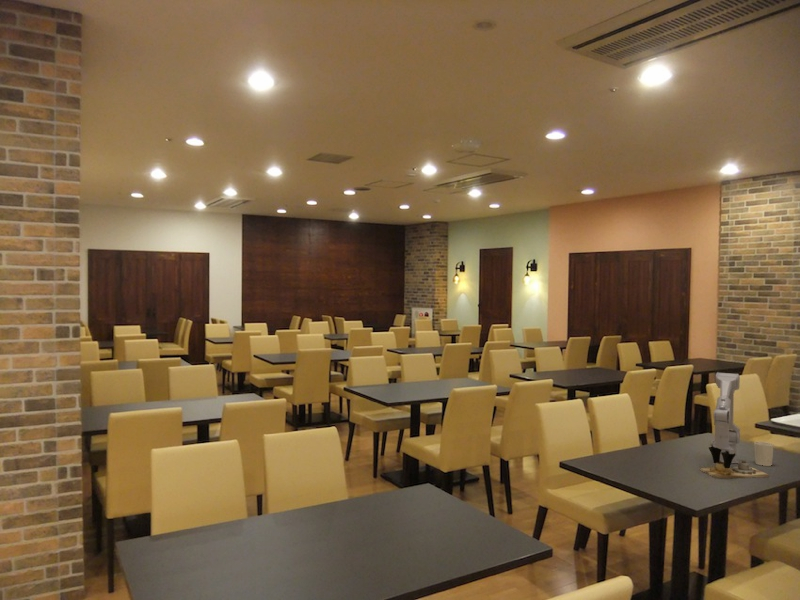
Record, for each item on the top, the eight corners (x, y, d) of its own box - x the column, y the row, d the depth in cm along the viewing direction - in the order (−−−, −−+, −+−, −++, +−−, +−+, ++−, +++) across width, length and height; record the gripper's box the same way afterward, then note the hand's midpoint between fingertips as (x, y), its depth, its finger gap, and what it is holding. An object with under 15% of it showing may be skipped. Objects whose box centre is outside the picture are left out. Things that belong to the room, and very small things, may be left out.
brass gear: (725, 468, 270) (725, 459, 270) (738, 474, 260) (738, 466, 260) (705, 468, 269) (705, 460, 269) (718, 475, 259) (718, 466, 259)
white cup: (770, 462, 282) (770, 442, 282) (775, 467, 275) (775, 446, 275) (752, 461, 285) (752, 441, 285) (756, 465, 278) (756, 444, 277)
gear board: (700, 470, 270) (700, 457, 270) (751, 469, 272) (751, 456, 272) (716, 478, 258) (716, 465, 258) (769, 477, 260) (769, 463, 260)
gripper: (703, 432, 271) (703, 461, 271) (723, 439, 257) (723, 470, 257) (718, 431, 272) (718, 460, 272) (738, 439, 257) (738, 470, 258)
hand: (721, 465), depth 265 cm, fingers open, 7 cm apart
